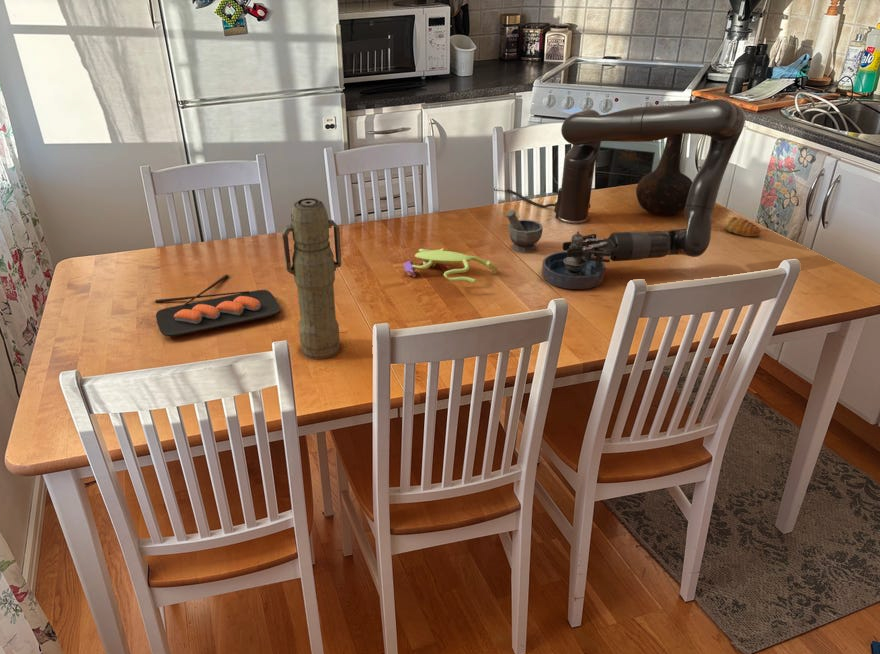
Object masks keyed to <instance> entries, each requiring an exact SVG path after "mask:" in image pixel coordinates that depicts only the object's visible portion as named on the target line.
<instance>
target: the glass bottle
mask: <svg viewBox="0 0 880 654" xmlns="http://www.w3.org/2000/svg"><path fill="white" fill-rule="evenodd" d="M683 136H684V134H676V135H673V136H670V137H667V138H666V141H665V144H664V148H663V150H662V151H663V152H662V155H661V158H660V160H659V162H658V165H657V167H656V168H655V169H654V171H651V172H649V173H647V174H645V175H644V176H643V177H641V179H640V180H639V181H638V183H637V185H636V188H635V189H636V190H635V195H636V200H637V202H638V204H639V206H640V207H641V208H642V209H643V210H644V211H646V212H648V213H650V214H653V215H658V216H672V215H677V214H678V213H681V212H682V211H684V209H685V205H686V201H687V198H688V194H689V190H690V187H691V185H692V183H693V180H692V179H691V178H690V177H688V176H687V175H686V174H684V173H682V172H681V168H680V167H681V166H680V165H681V153H682V144H683Z"/></svg>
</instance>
